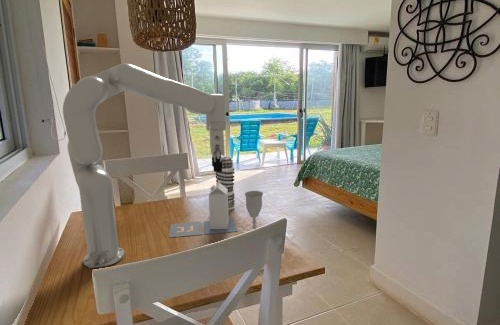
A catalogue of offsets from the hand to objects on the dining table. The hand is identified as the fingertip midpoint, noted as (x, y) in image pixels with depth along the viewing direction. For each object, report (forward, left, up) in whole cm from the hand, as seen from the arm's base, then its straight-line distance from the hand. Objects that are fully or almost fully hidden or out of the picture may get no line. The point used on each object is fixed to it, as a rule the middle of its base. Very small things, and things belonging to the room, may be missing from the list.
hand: (216, 168), depth 125 cm
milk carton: (0, 0, -25) cm, 25 cm away
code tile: (0, +14, -25) cm, 28 cm away
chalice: (-14, -12, -25) cm, 31 cm away
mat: (0, 0, -25) cm, 25 cm away
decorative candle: (+22, -5, -25) cm, 34 cm away
